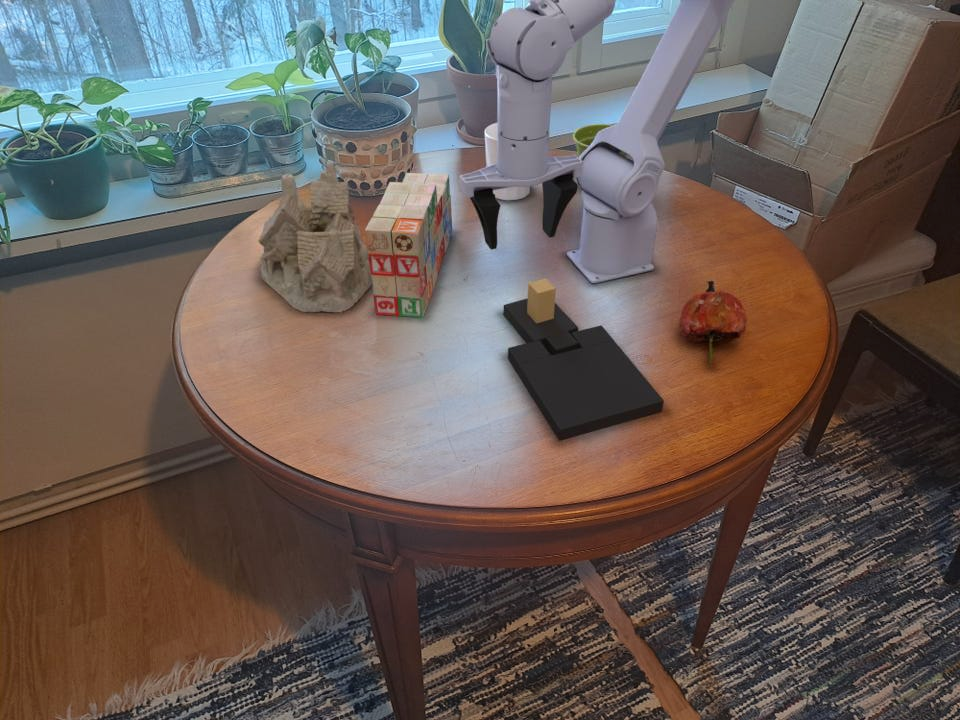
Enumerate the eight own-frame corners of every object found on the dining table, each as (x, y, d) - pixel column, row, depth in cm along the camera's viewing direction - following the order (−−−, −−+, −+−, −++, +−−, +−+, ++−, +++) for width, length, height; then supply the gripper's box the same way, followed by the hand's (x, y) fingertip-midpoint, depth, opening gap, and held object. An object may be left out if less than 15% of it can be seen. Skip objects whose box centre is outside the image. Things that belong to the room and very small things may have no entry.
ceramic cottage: (278, 241, 102) (258, 145, 92) (389, 255, 100) (380, 158, 90) (233, 309, 91) (204, 208, 81) (356, 326, 89) (342, 225, 79)
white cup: (488, 179, 118) (488, 119, 111) (535, 181, 117) (538, 122, 110) (481, 201, 112) (481, 140, 105) (531, 204, 111) (534, 142, 104)
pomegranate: (740, 375, 83) (748, 294, 85) (744, 359, 76) (753, 272, 78) (675, 368, 85) (684, 289, 87) (673, 352, 78) (684, 268, 80)
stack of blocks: (411, 230, 105) (405, 150, 97) (453, 233, 104) (450, 153, 96) (375, 315, 89) (363, 228, 81) (424, 319, 88) (417, 231, 80)
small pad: (588, 349, 83) (593, 308, 79) (543, 364, 81) (546, 322, 77) (545, 303, 90) (547, 263, 86) (503, 315, 88) (503, 274, 85)
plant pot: (612, 206, 110) (619, 153, 104) (559, 191, 114) (562, 139, 108) (636, 183, 116) (644, 131, 110) (585, 169, 120) (589, 119, 114)
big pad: (661, 411, 75) (664, 400, 74) (559, 441, 72) (560, 429, 71) (600, 335, 85) (601, 325, 84) (507, 358, 82) (507, 347, 81)
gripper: (567, 108, 82) (559, 213, 91) (448, 127, 78) (453, 234, 87) (595, 131, 77) (584, 239, 86) (470, 151, 73) (472, 263, 82)
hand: (520, 239), depth 86 cm, fingers open, 7 cm apart
